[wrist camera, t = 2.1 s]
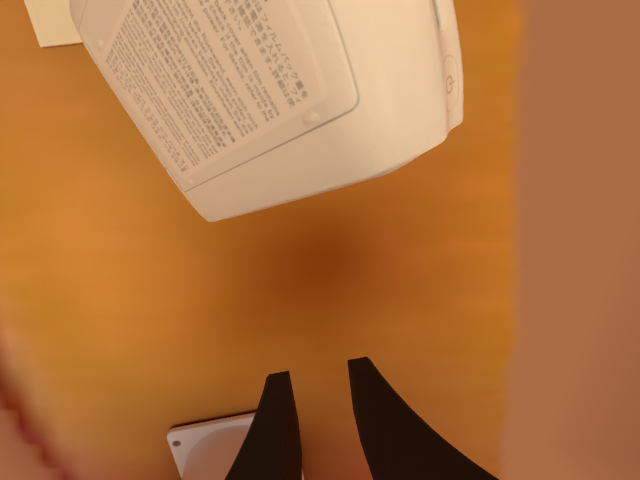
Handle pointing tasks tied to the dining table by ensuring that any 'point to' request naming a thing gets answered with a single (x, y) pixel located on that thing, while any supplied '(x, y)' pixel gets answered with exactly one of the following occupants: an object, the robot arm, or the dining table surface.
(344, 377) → the dining table surface
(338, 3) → the photo printer
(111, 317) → the dining table surface
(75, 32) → the mat
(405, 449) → the robot arm
